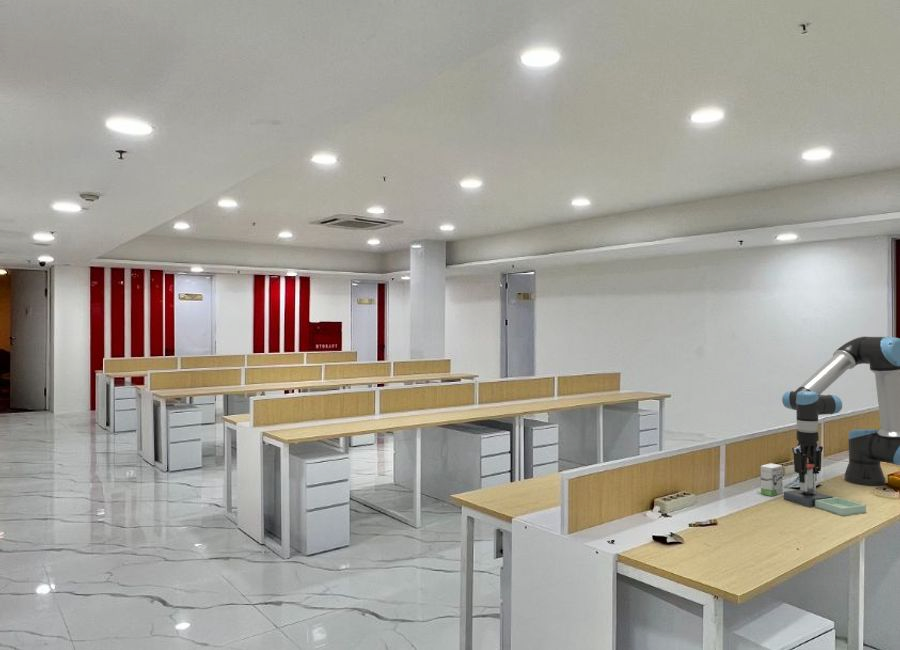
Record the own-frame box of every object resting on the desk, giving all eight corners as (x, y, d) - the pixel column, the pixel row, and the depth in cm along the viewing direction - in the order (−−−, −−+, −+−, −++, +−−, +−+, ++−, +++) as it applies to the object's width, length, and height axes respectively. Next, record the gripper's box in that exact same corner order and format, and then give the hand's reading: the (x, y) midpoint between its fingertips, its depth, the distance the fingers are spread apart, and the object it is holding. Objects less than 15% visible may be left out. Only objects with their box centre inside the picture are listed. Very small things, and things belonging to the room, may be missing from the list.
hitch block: (806, 496, 256) (806, 488, 256) (833, 504, 245) (832, 496, 245) (783, 499, 253) (783, 491, 253) (809, 507, 241) (809, 499, 241)
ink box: (772, 496, 256) (771, 467, 256) (760, 494, 261) (760, 465, 260) (783, 493, 261) (782, 465, 261) (771, 490, 265) (771, 462, 265)
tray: (838, 504, 245) (838, 497, 245) (866, 512, 234) (866, 505, 234) (815, 507, 241) (815, 500, 241) (842, 516, 230) (842, 508, 230)
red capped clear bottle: (807, 499, 252) (807, 461, 252) (818, 502, 247) (817, 463, 247) (798, 500, 250) (797, 462, 250) (808, 503, 246) (808, 464, 246)
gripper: (815, 427, 255) (815, 485, 255) (783, 430, 250) (783, 489, 250) (831, 430, 248) (832, 490, 248) (799, 433, 243) (799, 494, 243)
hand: (807, 489), depth 249 cm, fingers closed on red capped clear bottle, 3 cm apart
